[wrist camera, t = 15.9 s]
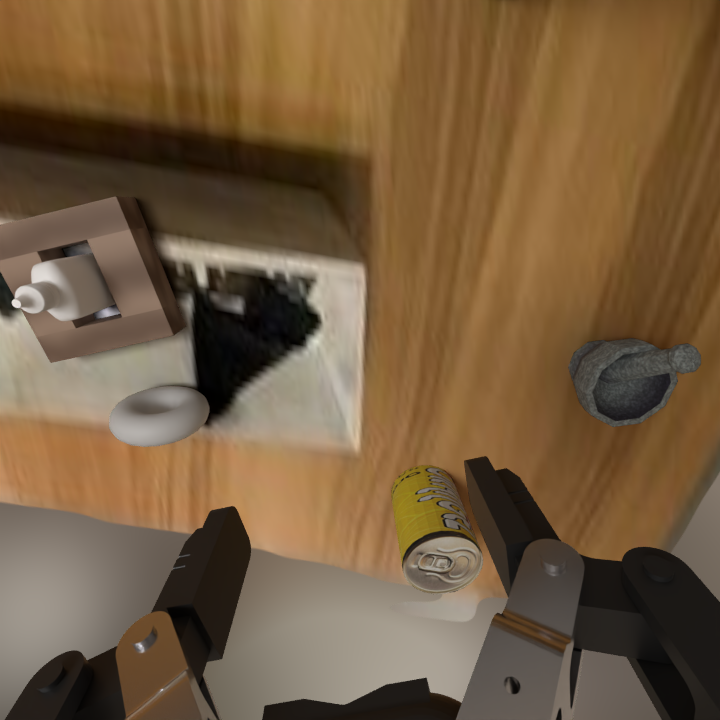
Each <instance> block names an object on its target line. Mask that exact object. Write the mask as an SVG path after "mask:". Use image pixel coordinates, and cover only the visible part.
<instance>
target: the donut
mask: <svg viewBox="0 0 720 720" xmlns="http://www.w3.org/2000/svg"><path fill="white" fill-rule="evenodd" d="M209 409H210V408H209V405H208V402H207V399H206V398H205V396H204V395H202V394H201V393H200V392H198V391H196V390H194V389H191V388H188V387H181V386H162V387H156V388H150V389H147V390H143V391H140V392H137V393H135V394H133V395H131V396H128V397H127V398H125V399H124V400H122V401H121V402H119V403H118V404H117V405H116V407H115V408H114V409H113V410H112V412H111V414H110V418H109V428H110V430H111V432H112V433H113V434H114V436H115V437H116V438H117V439H118V440H120V441H122V442H125V443H127V444H130V445H134V446H143V447H149V446H160V445H165V444H169V443H174V442H176V441H179V440H181V439H184V438H187V437H188V436H190V435H191V434H193V433H195V432H196V431H197V430H198V429H199V428H200V427H201V426H202V425H203V424H204V423H205V422H206V420H207V417H208V414H209Z"/></svg>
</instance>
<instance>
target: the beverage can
mask: <svg viewBox="0 0 720 720" xmlns="http://www.w3.org/2000/svg"><path fill="white" fill-rule="evenodd" d="M391 498H392V504H393V510H394V517H395V523H396V530H397V536H398V543H399V549H400V556H401V562H402V568H403V573H404V576H405V578H406V579H407V581H408V582H409V584H411V585H412V586H413V587H415V588H416V589H419V590H421V591H423V592H427V593H431V594H446V593H451V592H455V591H457V590H460V589H462V588H464V587H466V586H467V585H469V584H470V583H472V582H473V581H474V580H475V578H476V577H477V576H478V575H479V573H480V571H481V569H482V565H483V557H482V552H481V550H480V547H479V545H478V542H477V540H476V537H475V534H474V532H473V529H472V527H471V524H470V522H469V519H468V517H467V514H466V512H465V509H464V507H463V504H462V501H461V499H460V496H459V494H458V491H457V489H456V486H455V484H454V481H453V480H452V478H451V476H450V475H449V474H448V473H447V472H446V471H444V470H442V469H440V468H438V467H434V466H417V467H413V468H411V469H409V470H406V471H405V472H403V473H402V474H401V475H400V476H399V477H398V478H397V479H396V480H395V482H394V484H393V487H392V491H391Z"/></svg>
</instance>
